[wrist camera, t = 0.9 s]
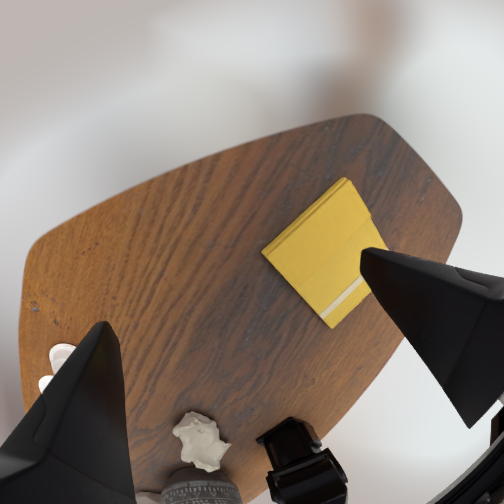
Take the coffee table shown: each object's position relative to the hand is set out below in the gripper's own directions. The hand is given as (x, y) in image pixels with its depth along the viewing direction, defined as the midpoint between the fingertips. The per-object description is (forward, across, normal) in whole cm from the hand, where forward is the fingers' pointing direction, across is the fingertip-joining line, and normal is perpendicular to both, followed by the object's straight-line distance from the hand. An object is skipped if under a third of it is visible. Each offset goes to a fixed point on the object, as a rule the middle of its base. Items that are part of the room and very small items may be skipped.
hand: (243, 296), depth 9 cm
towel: (+13, -12, +9) cm, 20 cm away
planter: (+8, +12, +41) cm, 44 cm away
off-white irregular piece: (+11, +7, +28) cm, 31 cm away
